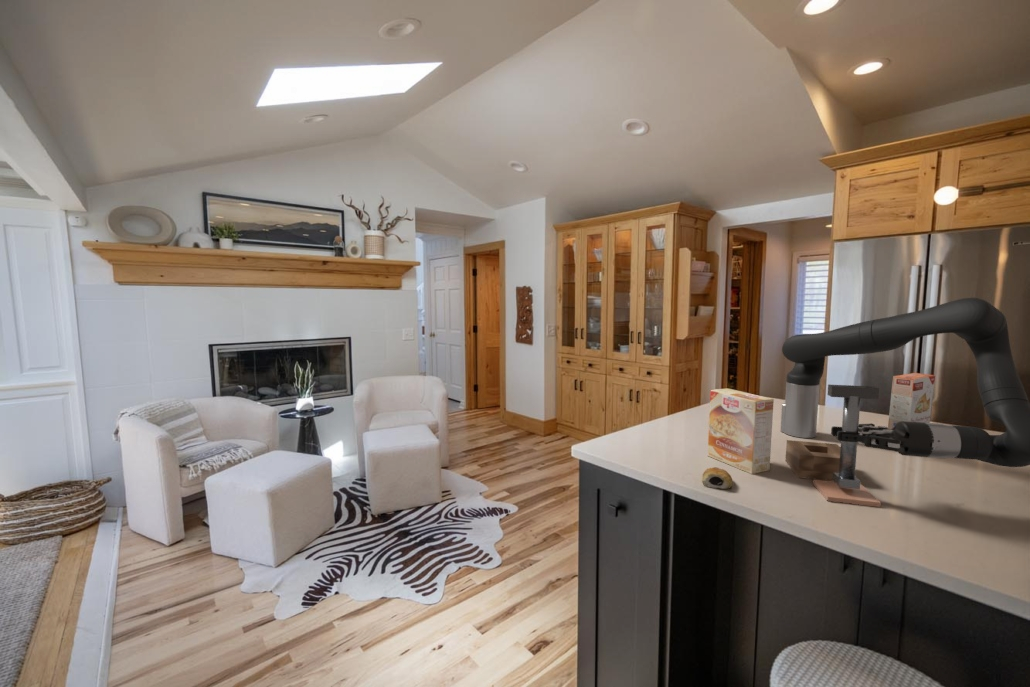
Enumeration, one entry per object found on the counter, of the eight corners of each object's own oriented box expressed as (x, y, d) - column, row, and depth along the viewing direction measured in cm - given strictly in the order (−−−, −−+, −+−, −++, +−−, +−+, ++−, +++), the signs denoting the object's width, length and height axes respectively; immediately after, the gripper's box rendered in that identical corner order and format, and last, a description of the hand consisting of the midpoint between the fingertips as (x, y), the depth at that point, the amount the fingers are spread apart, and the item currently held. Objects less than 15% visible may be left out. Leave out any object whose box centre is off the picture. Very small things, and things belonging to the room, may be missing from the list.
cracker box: (908, 446, 139) (915, 378, 137) (885, 440, 144) (891, 375, 142) (930, 439, 146) (936, 374, 143) (906, 434, 151) (912, 371, 149)
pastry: (704, 473, 119) (704, 459, 119) (732, 478, 116) (733, 463, 116) (701, 487, 111) (702, 472, 111) (731, 492, 108) (732, 477, 108)
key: (826, 485, 105) (833, 387, 103) (820, 479, 109) (826, 383, 106) (872, 490, 103) (880, 389, 100) (865, 483, 106) (872, 385, 104)
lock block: (798, 477, 116) (799, 454, 115) (785, 460, 127) (786, 440, 127) (853, 483, 112) (855, 459, 112) (835, 465, 124) (836, 444, 123)
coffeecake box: (706, 456, 132) (709, 389, 129) (724, 452, 134) (727, 387, 132) (751, 474, 118) (755, 401, 116) (770, 470, 121) (774, 398, 119)
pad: (827, 501, 103) (827, 496, 103) (813, 483, 112) (813, 479, 112) (880, 507, 100) (880, 502, 100) (860, 488, 109) (861, 484, 109)
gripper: (910, 414, 107) (824, 410, 112) (946, 432, 93) (847, 426, 98) (907, 446, 107) (822, 439, 112) (943, 467, 94) (845, 459, 99)
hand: (835, 433), depth 105 cm, fingers closed on key, 3 cm apart
